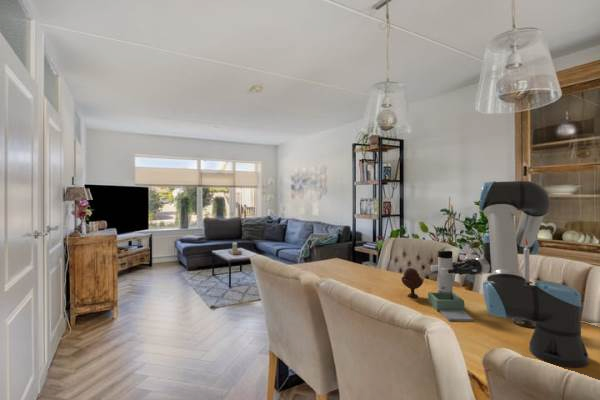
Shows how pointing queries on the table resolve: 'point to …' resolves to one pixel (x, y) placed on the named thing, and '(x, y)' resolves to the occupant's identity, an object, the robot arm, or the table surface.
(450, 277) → the travel mug
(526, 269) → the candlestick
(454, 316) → the slate tile
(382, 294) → the table surface
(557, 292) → the robot arm
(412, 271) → the ice cream bowl
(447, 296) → the green frame
